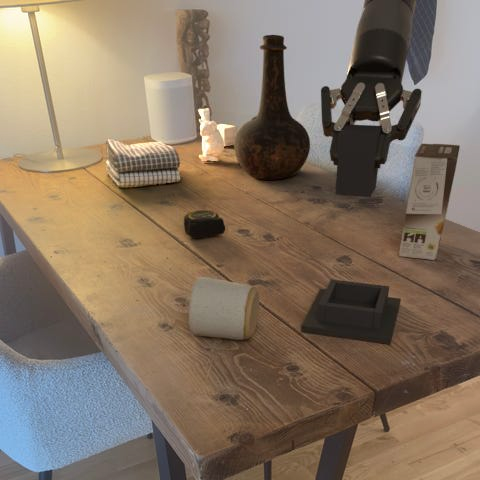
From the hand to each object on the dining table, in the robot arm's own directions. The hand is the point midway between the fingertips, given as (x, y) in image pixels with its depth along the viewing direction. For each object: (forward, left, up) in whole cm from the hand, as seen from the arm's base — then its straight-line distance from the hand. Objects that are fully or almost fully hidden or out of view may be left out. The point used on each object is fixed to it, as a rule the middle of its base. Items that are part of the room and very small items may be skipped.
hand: (356, 163), depth 76 cm
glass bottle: (+2, -63, -18) cm, 65 cm away
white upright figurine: (+16, -79, -18) cm, 83 cm away
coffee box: (-17, -13, -18) cm, 28 cm away
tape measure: (+20, -25, -18) cm, 37 cm away
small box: (+11, -96, -18) cm, 98 cm away
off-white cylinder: (+19, +11, -18) cm, 29 cm away
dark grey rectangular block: (-1, -2, -4) cm, 4 cm away
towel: (+33, -66, -18) cm, 76 cm away
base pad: (+1, +10, -18) cm, 21 cm away
